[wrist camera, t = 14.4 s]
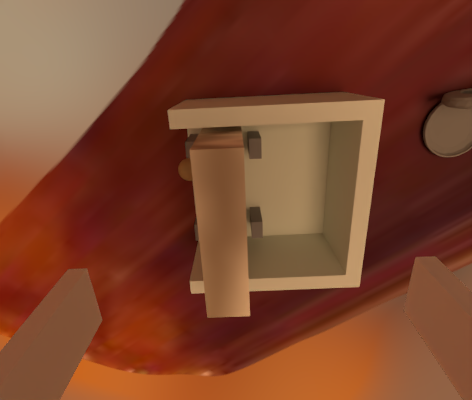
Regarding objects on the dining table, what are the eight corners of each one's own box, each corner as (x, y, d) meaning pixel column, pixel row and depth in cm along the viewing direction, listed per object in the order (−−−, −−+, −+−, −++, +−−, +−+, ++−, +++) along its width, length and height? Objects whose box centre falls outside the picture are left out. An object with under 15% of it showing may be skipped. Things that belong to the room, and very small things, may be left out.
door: (240, 117, 33) (243, 147, 20) (244, 232, 38) (250, 315, 25) (191, 119, 33) (163, 151, 20) (203, 234, 38) (186, 318, 25)
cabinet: (342, 91, 33) (384, 99, 24) (330, 237, 40) (359, 286, 31) (186, 99, 33) (167, 110, 24) (201, 242, 40) (191, 293, 31)
